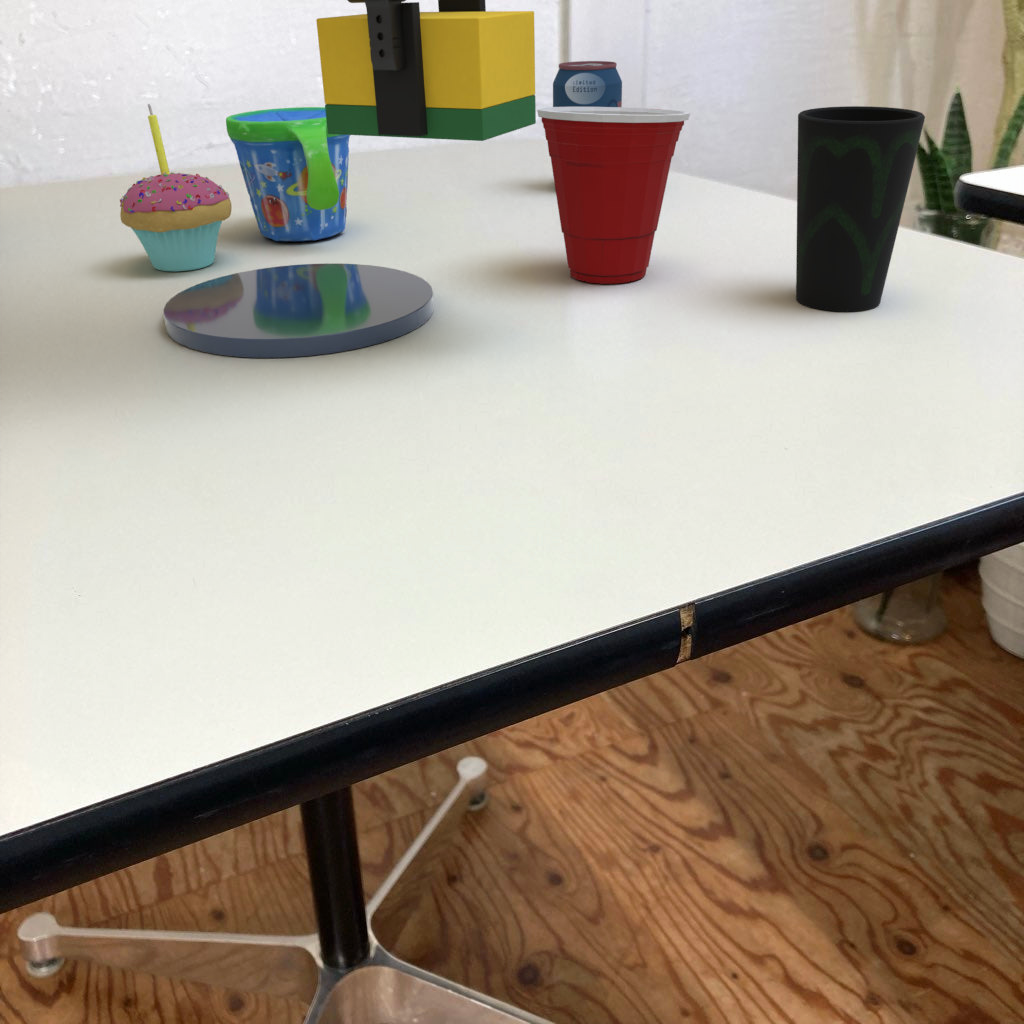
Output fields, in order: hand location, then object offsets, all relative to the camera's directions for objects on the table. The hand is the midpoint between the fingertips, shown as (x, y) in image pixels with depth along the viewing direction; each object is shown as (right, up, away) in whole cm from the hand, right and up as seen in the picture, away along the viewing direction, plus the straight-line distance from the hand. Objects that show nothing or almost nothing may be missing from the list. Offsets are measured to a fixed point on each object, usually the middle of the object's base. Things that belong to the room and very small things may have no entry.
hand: (436, 124), depth 60 cm
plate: (-10, -9, +11) cm, 17 cm away
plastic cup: (+12, -5, +18) cm, 22 cm away
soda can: (+12, +11, +49) cm, 51 cm away
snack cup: (-14, +2, +32) cm, 35 cm away
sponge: (0, 0, 0) cm, 0 cm away
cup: (+27, -8, +11) cm, 30 cm away
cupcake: (-22, -3, +24) cm, 33 cm away
